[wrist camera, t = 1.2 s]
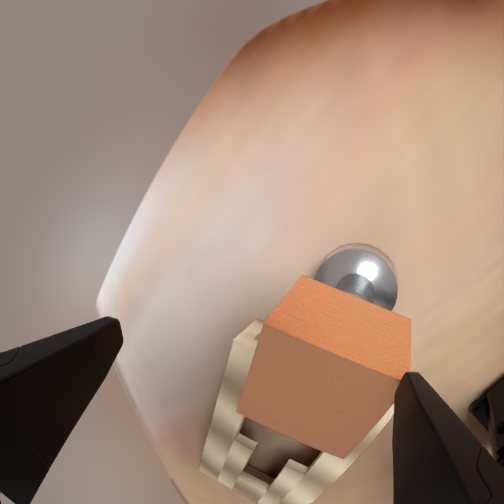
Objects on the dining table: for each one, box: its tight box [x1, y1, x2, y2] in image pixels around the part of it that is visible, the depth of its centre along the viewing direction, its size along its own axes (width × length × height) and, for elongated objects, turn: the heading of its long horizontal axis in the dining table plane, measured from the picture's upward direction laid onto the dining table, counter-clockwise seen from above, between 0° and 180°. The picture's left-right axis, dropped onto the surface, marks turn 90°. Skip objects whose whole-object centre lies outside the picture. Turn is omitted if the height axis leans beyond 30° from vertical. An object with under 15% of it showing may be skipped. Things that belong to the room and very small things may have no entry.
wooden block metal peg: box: [236, 243, 411, 459], centre depth 14 cm, size 5×5×11 cm
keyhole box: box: [198, 319, 394, 504], centre depth 23 cm, size 20×12×4 cm, turn 165°
